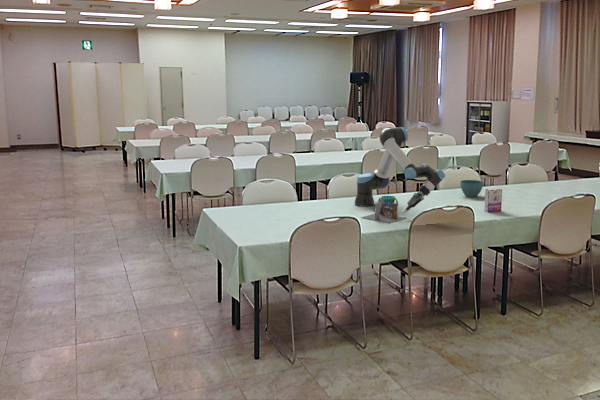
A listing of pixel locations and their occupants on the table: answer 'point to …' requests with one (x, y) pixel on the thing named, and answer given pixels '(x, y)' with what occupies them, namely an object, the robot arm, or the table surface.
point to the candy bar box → (493, 200)
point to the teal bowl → (471, 187)
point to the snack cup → (389, 201)
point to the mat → (383, 218)
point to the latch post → (377, 210)
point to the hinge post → (381, 205)
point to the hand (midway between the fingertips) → (403, 213)
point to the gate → (394, 210)
